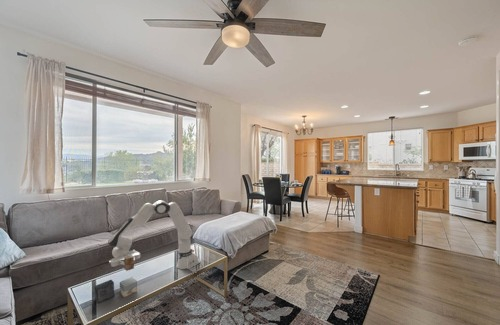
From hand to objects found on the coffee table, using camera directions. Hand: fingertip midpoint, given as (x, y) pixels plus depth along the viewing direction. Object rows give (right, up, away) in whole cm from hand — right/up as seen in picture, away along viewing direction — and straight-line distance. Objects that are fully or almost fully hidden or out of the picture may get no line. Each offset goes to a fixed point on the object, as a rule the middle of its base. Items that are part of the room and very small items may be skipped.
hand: (129, 262), depth 158 cm
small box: (-14, -23, -7) cm, 28 cm away
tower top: (-1, -19, 0) cm, 19 cm away
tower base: (-1, -23, 0) cm, 23 cm away
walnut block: (-1, -5, +1) cm, 5 cm away
